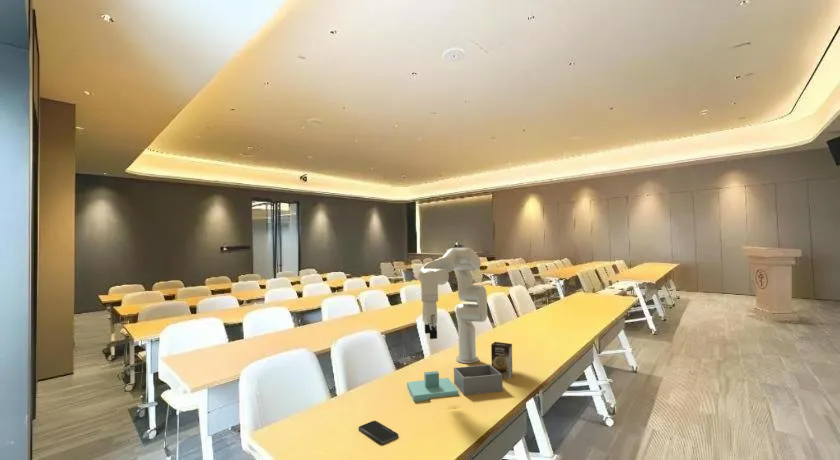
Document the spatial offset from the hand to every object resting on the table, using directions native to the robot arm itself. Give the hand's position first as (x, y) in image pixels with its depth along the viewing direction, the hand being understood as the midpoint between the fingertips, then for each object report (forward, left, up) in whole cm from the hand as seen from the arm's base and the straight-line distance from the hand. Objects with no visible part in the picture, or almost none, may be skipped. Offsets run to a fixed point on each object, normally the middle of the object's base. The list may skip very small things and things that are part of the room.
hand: (430, 335), depth 168 cm
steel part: (0, +17, -24) cm, 29 cm away
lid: (0, 0, -25) cm, 25 cm away
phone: (+30, -27, -26) cm, 48 cm away
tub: (+2, +21, -25) cm, 33 cm away
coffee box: (-9, +38, -25) cm, 46 cm away
